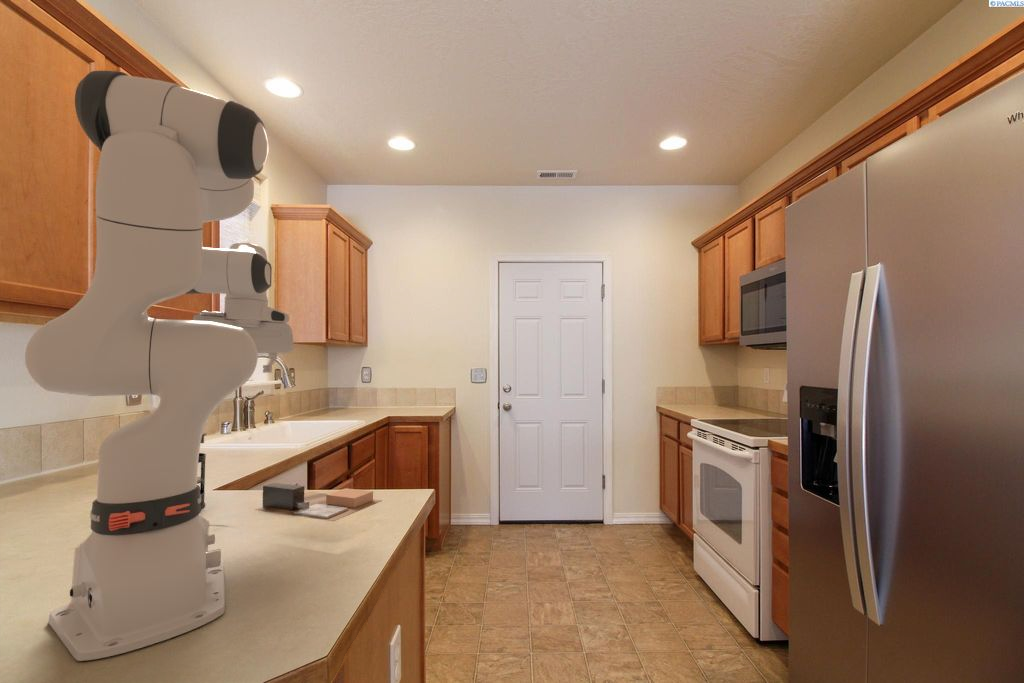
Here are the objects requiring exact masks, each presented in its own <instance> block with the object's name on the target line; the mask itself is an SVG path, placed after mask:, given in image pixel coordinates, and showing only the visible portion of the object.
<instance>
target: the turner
mask: <svg viewBox="0 0 1024 683" xmlns="http://www.w3.org/2000/svg"><path fill="white" fill-rule="evenodd" d="M304 493H305V485H299V484H298V485H297V484H290V483H289V484H288V483H280V482H272V483H269V484H266V485H263V486H262V507H268V508H275V509H282V510H289V511H294V510H297V509H300V510H297V511H294V514H297V515H304V516H310V517H317V518H324V519H328V518H331V517H333V516H336V515H338V514H340V513H343V512H345V511H348V508H346V507H338V506H331V505H323V504H314V505H311V506H309V501H304Z"/></svg>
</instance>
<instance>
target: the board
mask: <svg viewBox="0 0 1024 683" xmlns="http://www.w3.org/2000/svg"><path fill="white" fill-rule="evenodd" d="M328 494H329V493H324V492H323V493H321V492H313V491H308V492H304V501H309V506H311V505H314V504H323V505H328V504H326V495H328ZM382 501H383V500H381V499H374V498H373V500H372V501H370V502H368V503H365V504H363V505H360V506H358V507H356V508H351V507H346V508H348V511H345V512H343V513H340V514H338V515H336V516H333V517H331V518H328V519H324V518H317V517H310V516H304V515H297V514H294V511H297V510H300V509H297V510H294V511H289V510H282V509H275V508H268V507H263V506H261V507H258V508H256V509H254V510H255V511H262V512H269V513H275V514H282V515H287V516H294V517H296V516H297V517H303V518H309V519H316V520H323V521H328V522H329V521H330V522H335V521H337V520H340V519H342V518H344V517H347V516H349V515H352V514H354V513H357V512H359V511H361V510H363V509H366V508H368V507H370V506H373V505H375V504H378V503H380V502H382ZM331 506H336V505H331ZM338 507H344V506H338Z"/></svg>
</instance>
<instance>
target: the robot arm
mask: <svg viewBox="0 0 1024 683" xmlns="http://www.w3.org/2000/svg"><path fill="white" fill-rule="evenodd" d="M75 89H76V90H75V94H74V107H75V113H76V118H77V120H78V123H79V125H80V127H81V128H82V130H83V132H84V133H85V135H86V136H87V137H88V139H89V140H90V141H91V143H93V145H95V146H96V147H97V148H98V149H99V151H100V156H99V161H98V167H97V173H96V185H95V222H96V223H95V224H96V228H95V229H96V257H95V268H94V273H93V278H92V281H91V284H90V285H89V287H88V289H87V291H86V292H85V293H84V295H83V296H82V298H80V299H79V301H78V302H77V303H76V304H75V305H74V306H72V307H71V308H70V309H69V310H67V311H66V312H65V313H63V314H60V315H59V316H58V317H55V318H53V319H51V320H49V321H48V322H46V323H44V324H43V325H42V326H40V327H39V328H38V329H37V330H36V331H35V332H34V333H33V335H32V336H31V337H30V339H29V341H28V343H27V344H26V348H25V353H24V360H25V361H24V362H25V366H26V369H27V372H28V374H29V375H30V376H31V378H32V379H33V380H34V381H35V383H36V384H38V386H40V387H41V388H43V389H44V390H45V391H46V392H47V391H48V392H52V393H61V394H69V395H76V396H77V395H78V396H86V397H109V396H110V397H115V396H117V397H118V396H145V395H150V396H151V395H152V396H158V397H159V398H160V399H159V400H160V401H159V404H158V406H157V408H156V409H155V410H154V411H153V412H151V413H149V414H148V415H145V416H143V417H141V418H138V419H136V420H133V421H130V422H128V423H127V424H124V425H123V426H121V427H118V428H117V429H115V430H113V431H112V432H110V433H109V434H108V435H107V436H106V437H105V438H104V439H103V441H102V442H101V445H100V447H99V451H98V464H97V465H98V466H97V468H98V469H97V483H96V484H97V485H96V486H97V487H96V488H97V490H96V498H95V499H94V500H93V501H92V506H91V510H90V514H89V517H90V529H91V533H90V535H88V537H86V539H85V540H83V541H82V542H80V544H79V545H78V546H76V547H75V548H74V553H73V555H74V556H73V568H72V580H71V581H72V582H71V587H70V590H69V597H70V602H68V603H66V604H64V605H61V606H60V607H57V608H56V609H54V610H52V611H51V612H49V617H48V624H49V626H51V628H52V629H53V631H54V632H55V634H56V636H58V638H59V639H60V640H61V642H62V643H63V645H64V646H65V647H66V648H67V651H69V653H70V654H71V655H72V657H73V658H74V659H75V660H76V661H79V662H82V661H83V662H84V661H92V660H99V659H103V658H104V659H105V658H108V657H111V656H112V657H113V656H117V655H120V654H124V653H127V652H128V653H129V652H131V651H135V650H139V649H141V648H144V647H149V646H151V645H153V644H157V643H160V642H164V641H166V640H170V639H171V638H174V637H177V636H179V635H180V636H181V635H183V634H185V633H188V632H190V631H193V630H194V629H197V628H199V627H201V626H204V625H206V624H208V623H210V622H212V621H214V620H216V619H217V618H219V617H220V616H222V615H223V614H225V612H226V582H225V578H226V574H225V573H226V572H225V568H224V566H222V565H221V562H222V560H221V559H222V550H221V548H217V549H212V550H209V546H210V545H214V544H216V543H215V541H216V536H215V535H216V534H215V533H214V534H213V533H212V534H209V533H210V531H209V529H210V527H209V526H210V521H209V520H207V519H206V518H205V517H202V516H201V515H200V514H201V512H202V510H201V494H200V485H198V484H197V477H198V469H199V468H198V467H199V463H198V459H199V453H200V448H201V444H202V443H201V438H202V434H203V433H204V431H205V428H206V426H207V423H208V421H209V419H210V418H211V416H212V414H213V413H214V411H215V410H216V409H217V408H218V407H219V405H221V403H222V402H223V401H224V400H225V399H226V398H227V397H228V396H230V395H231V394H232V393H234V392H235V391H236V390H238V389H240V388H241V387H243V386H244V385H245V384H246V383H247V382H248V381H249V380H250V379H251V377H252V376H253V374H254V372H255V370H256V368H257V364H258V354H266V355H267V354H268V356H267V357H268V359H269V360H268V362H267V364H265V365H262V369H263V370H262V373H264V374H265V373H266V374H267V373H269V374H270V373H272V372H273V365H274V363H275V362H276V361H277V359H278V355H279V354H280V355H286V354H290V353H291V352H292V351H294V333H293V329H292V327H291V325H290V324H288V323H289V321H290V315H289V314H288V313H286V312H283V311H280V310H278V309H275V308H272V307H270V306H269V298H268V296H267V290H269V289H270V288H271V286H272V274H273V273H272V271H273V270H272V265H271V262H269V261H268V257H267V256H268V255H267V252H266V250H265V248H263V247H262V246H260V245H258V244H255V243H252V242H245V241H244V242H235V243H233V244H231V245H230V246H229V248H217V247H215V248H213V247H204V246H203V244H204V243H203V240H204V236H203V234H204V223H209V222H215V221H224V220H228V219H229V220H230V219H231V218H234V217H236V216H238V215H239V214H241V213H242V212H244V211H246V209H247V208H248V207H249V206H250V204H252V202H253V199H254V194H255V188H254V187H255V183H254V182H255V180H254V177H255V176H257V175H259V174H260V173H262V170H263V169H264V165H265V164H266V161H267V158H268V154H269V140H268V136H267V132H266V127H265V124H264V122H263V121H262V119H261V118H260V117H259V115H258V114H257V112H255V111H254V110H253V109H251V108H249V107H247V106H246V105H243V104H241V103H239V102H237V101H236V102H235V101H233V100H229V101H226V100H223V99H221V98H219V97H215V96H213V95H210V94H207V93H204V92H200V91H197V90H194V89H190V88H187V87H184V86H182V85H181V84H178V83H175V82H174V83H173V82H170V81H165V80H159V79H153V78H149V77H148V78H147V77H140V76H135V75H134V76H133V75H129V74H127V73H125V72H123V71H117V70H115V71H114V70H92V71H90V72H88V74H87V75H85V76H84V77H82V79H81V80H80V81H79V82H78V84H77V86H76V88H75ZM189 294H192V295H193V294H194V295H196V294H197V295H198V294H223V295H225V296H224V310H223V311H224V312H223V311H222V312H221V311H207V310H202V311H200V312H197V313H195V314H194V315H193V317H192V319H168V318H167V319H166V318H156V317H151V316H149V314H148V309H150V308H151V307H153V306H154V305H156V304H158V303H159V304H160V303H161V302H164V301H168V300H170V299H174V298H177V297H180V296H182V295H189Z"/></svg>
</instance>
